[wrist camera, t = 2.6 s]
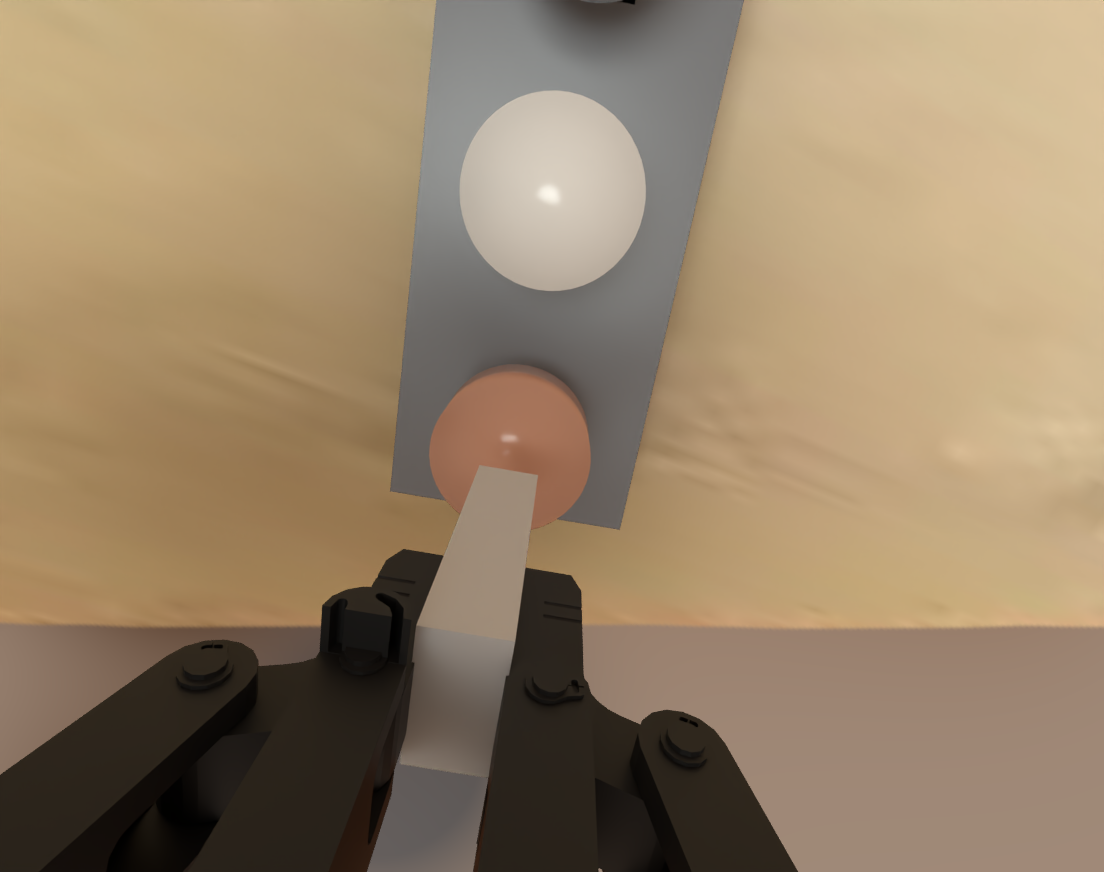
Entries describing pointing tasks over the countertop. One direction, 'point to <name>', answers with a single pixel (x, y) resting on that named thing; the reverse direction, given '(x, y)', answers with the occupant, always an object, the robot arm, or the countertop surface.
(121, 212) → the countertop surface
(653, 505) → the countertop surface
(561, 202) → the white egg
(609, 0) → the pale blue knob
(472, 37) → the key panel
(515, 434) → the terracotta key
